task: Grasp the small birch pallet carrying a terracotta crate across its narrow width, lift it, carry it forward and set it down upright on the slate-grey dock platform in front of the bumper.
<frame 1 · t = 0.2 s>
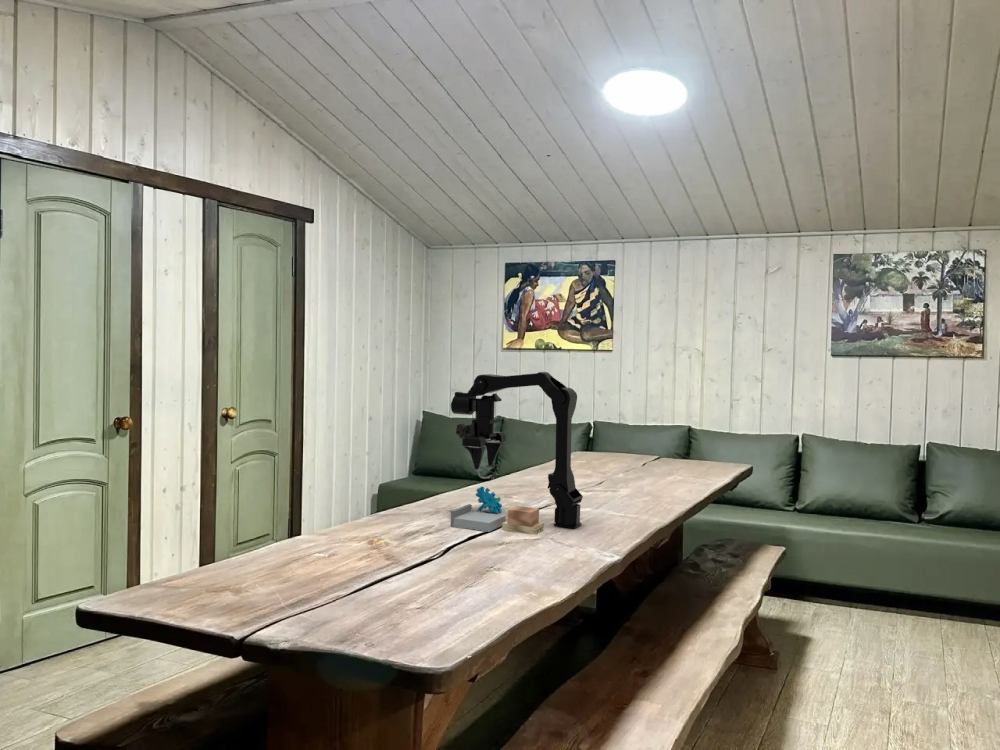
hand: (483, 467, 241), 14 cm above the table, fingers open, 9 cm apart
dock: (479, 525, 227), on the table
gear: (489, 512, 246), on the table
loaded pallet: (522, 530, 223), on the table
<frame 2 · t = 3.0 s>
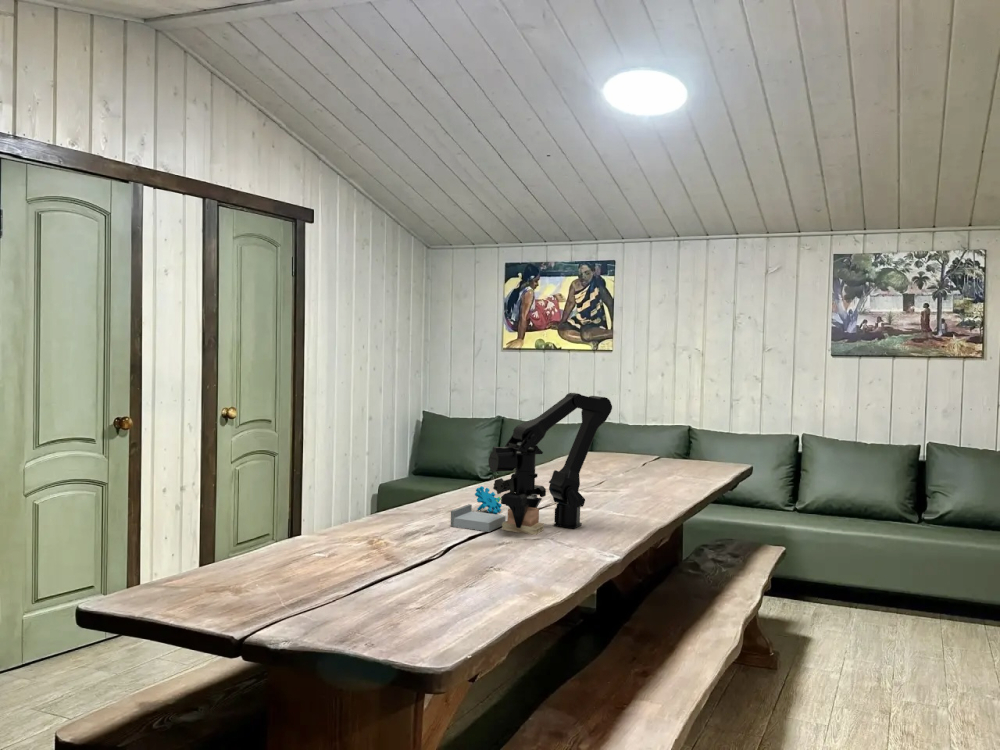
hand: (523, 525, 223), 1 cm above the table, fingers closed on loaded pallet, 6 cm apart
loaded pallet: (522, 530, 223), on the table, touching gripper
everything else where it was.
when the fingers open (5 cm above the table, at t = 7.2 s): loaded pallet drops 1 cm, resting on dock.
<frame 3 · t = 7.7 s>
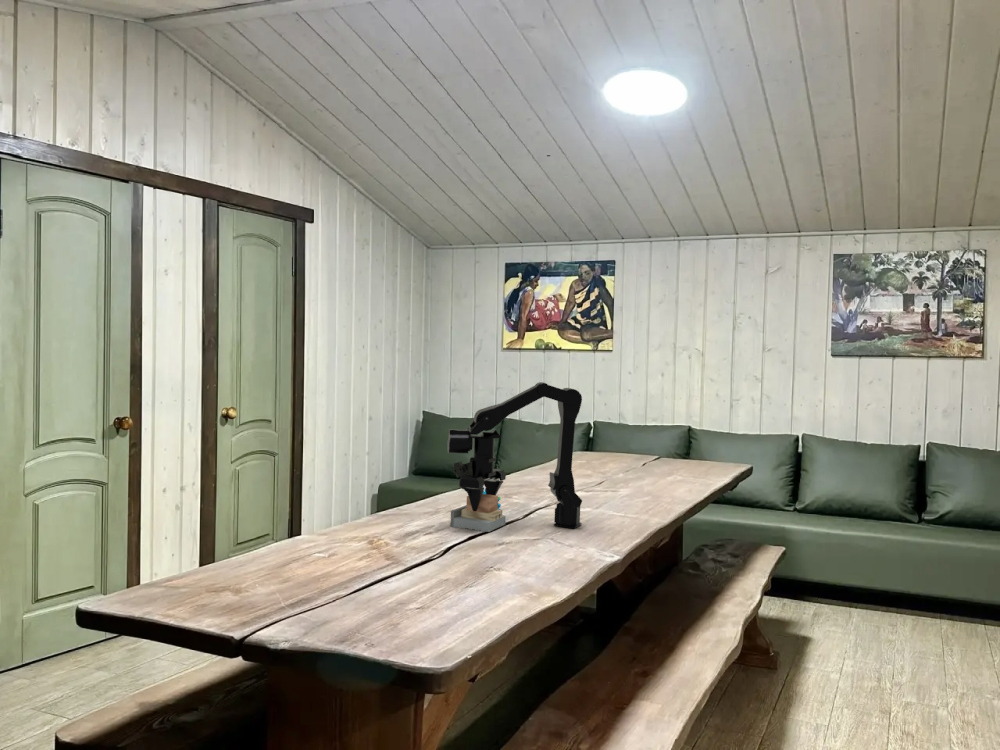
hand: (482, 508, 226), 5 cm above the table, fingers open, 9 cm apart
loaded pallet: (481, 517, 227), point 2 cm above the table, touching dock
everything else where it was.
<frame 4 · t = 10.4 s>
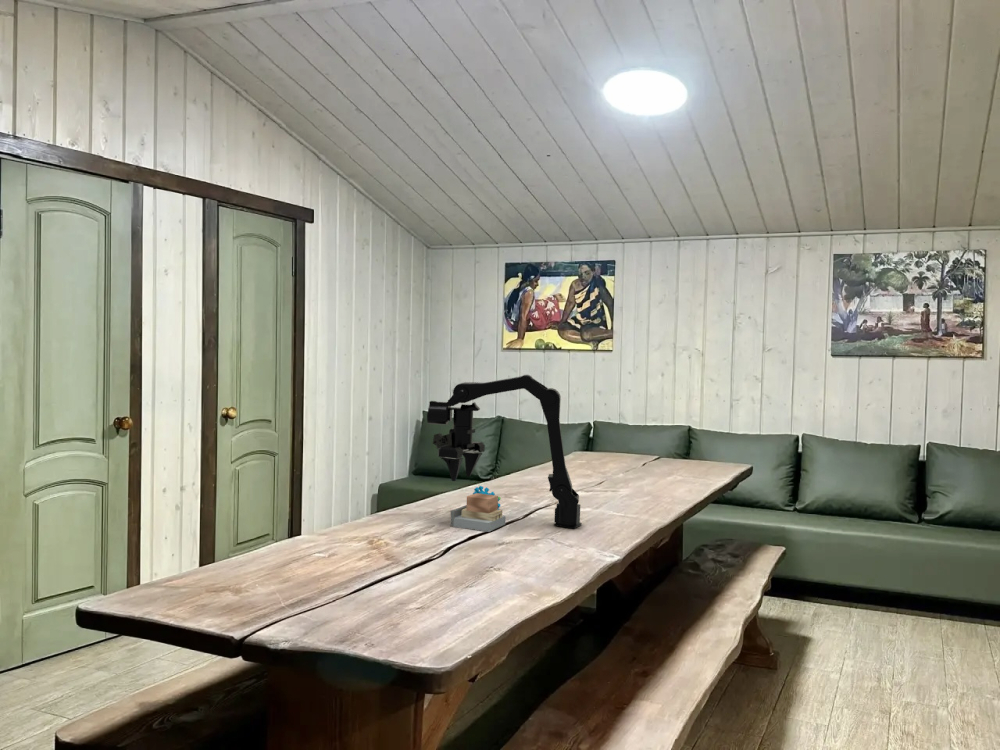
hand: (461, 478, 234), 12 cm above the table, fingers open, 9 cm apart
at the end: loaded pallet inside the target area on the dock (0.3 cm from its centre), point 2.5 cm above the dock's base; loaded pallet tilted 0°; the gripper is holding nothing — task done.
